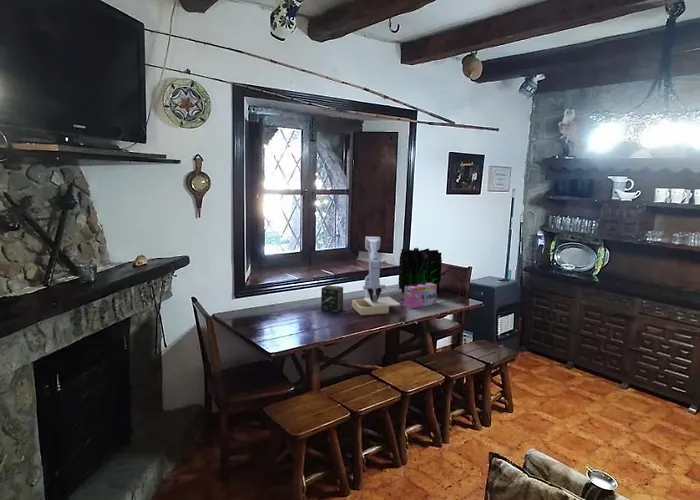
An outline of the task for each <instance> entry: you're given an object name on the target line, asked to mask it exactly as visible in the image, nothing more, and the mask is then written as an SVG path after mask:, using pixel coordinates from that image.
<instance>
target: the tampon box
mask: <svg viewBox="0 0 700 500" xmlns="http://www.w3.org/2000/svg"><path fill="white" fill-rule="evenodd" d="M320 301H321V303H320V309H321V311H322V310H323V311H324V312H328V311H330V313H336V314H337V313H338V312H340V311H342V310H343V309H344V286H338V285H330V284H328V285H325V286H324V287H321V298H320ZM323 311H322V312H323Z"/></svg>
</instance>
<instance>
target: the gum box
mask: <svg viewBox="0 0 700 500" xmlns="http://www.w3.org/2000/svg"><path fill="white" fill-rule="evenodd" d="M436 291H437V284H432V283H431V282H425V283H420V284H414V285H408V286H405V289H404V293H403V295H404V296H403V306H404V307H406V308H408V309H417V308H421V307H426V306H427V307H428V306H432V305H436V304H437V293H436Z"/></svg>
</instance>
